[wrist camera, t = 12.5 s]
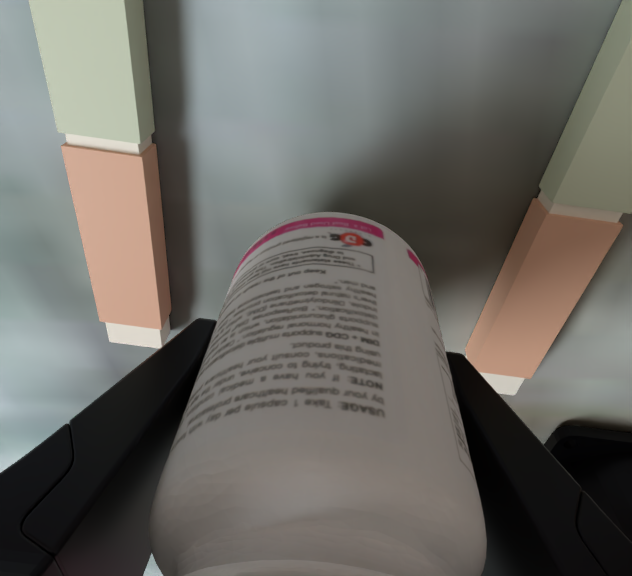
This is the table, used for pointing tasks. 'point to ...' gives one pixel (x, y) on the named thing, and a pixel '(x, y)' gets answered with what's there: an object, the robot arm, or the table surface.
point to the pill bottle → (322, 421)
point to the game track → (146, 206)
